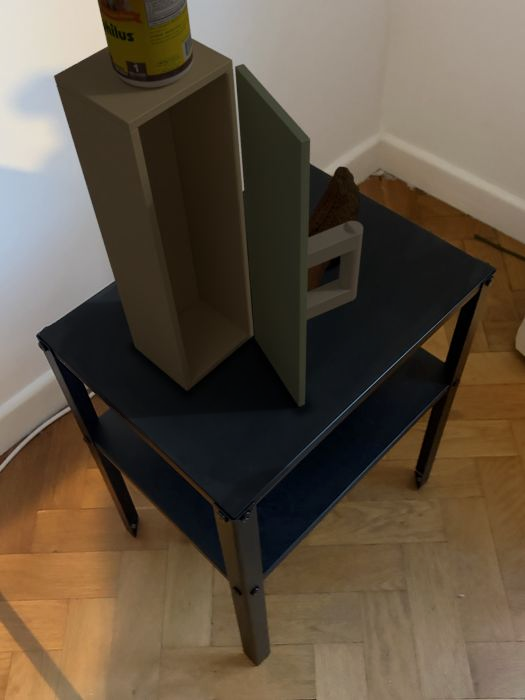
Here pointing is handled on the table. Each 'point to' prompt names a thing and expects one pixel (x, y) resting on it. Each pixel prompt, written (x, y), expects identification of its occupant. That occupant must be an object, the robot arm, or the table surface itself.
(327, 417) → the table surface
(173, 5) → the supplement bottle
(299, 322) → the cabinet door
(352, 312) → the table surface
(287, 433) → the table surface
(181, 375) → the cabinet
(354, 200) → the sculpture
